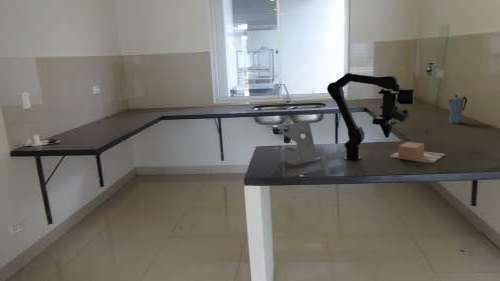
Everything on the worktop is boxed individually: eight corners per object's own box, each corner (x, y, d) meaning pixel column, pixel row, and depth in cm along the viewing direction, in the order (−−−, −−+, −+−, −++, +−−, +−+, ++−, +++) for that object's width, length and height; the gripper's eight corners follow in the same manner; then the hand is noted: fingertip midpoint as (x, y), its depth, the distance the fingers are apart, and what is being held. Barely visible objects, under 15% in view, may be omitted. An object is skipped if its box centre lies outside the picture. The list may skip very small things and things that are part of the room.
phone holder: (292, 165, 176) (292, 127, 172) (281, 160, 185) (280, 125, 181) (322, 159, 184) (321, 123, 180) (309, 155, 192) (309, 121, 189)
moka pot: (442, 122, 268) (443, 94, 264) (458, 120, 272) (460, 93, 268) (452, 124, 259) (454, 95, 255) (470, 122, 264) (472, 94, 259)
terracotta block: (415, 148, 170) (424, 143, 178) (398, 146, 176) (407, 141, 184) (415, 160, 172) (423, 155, 179) (398, 158, 177) (406, 153, 185)
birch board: (432, 163, 168) (432, 162, 168) (389, 157, 182) (389, 156, 182) (444, 155, 181) (444, 154, 181) (403, 150, 194) (403, 149, 194)
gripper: (397, 107, 156) (395, 143, 160) (415, 103, 169) (412, 136, 173) (372, 105, 164) (371, 139, 168) (391, 101, 177) (389, 133, 180)
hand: (386, 137), depth 172 cm, fingers closed
